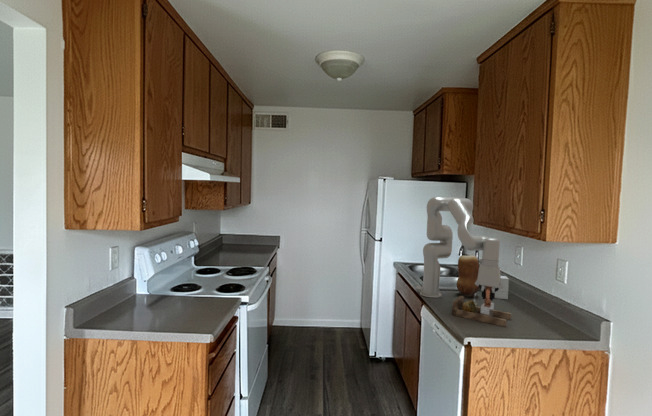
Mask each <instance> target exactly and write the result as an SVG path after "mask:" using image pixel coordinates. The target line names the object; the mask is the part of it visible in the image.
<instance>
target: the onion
mask: <svg viewBox="0 0 652 416" xmlns="http://www.w3.org/2000/svg"><path fill="white" fill-rule="evenodd" d="M475 306H477V307H479V303H477V302H476V301H475V300H472V299H470V300H467V301H464V302H463V304H462V306H461V307H462V310H463V311H468V312H473V313H476V311H477V307H475Z"/></svg>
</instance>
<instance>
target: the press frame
mask: <svg viewBox="0 0 652 416" xmlns="http://www.w3.org/2000/svg"><path fill="white" fill-rule="evenodd" d="M463 302H465V296H464V295H460V296H458V297H456V298H455V299H454V300H452V306H451V307H452V311H451V315H452V316H455V317H460V318H463V319H464V318H465V319H468V318H469V319H468V320H472V321H478V322H481V323H488V324H490V325H491V324H492V325H494V326H495V325H496V326H500V327H505V328H506V327H507V321H508V320H509V321H512V313H511V312H507V311H501V310H496V309H494V312H493V316H487V315H482V314H480V313H481V306H475V307H477V311H476V313H473V312H468V311H463V310H462V307H461V306H462V304H463Z"/></svg>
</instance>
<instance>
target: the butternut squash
mask: <svg viewBox="0 0 652 416" xmlns="http://www.w3.org/2000/svg"><path fill="white" fill-rule="evenodd" d="M479 267H480V262H479V259H478V257H477V256H476V255H471V254H469V255H461V256H459V257H458V260H457V269H458V270H457V271H458V277H457V280H456V289H457V290H458V292H459V293H460V294H461V296H464V297H469V298H471V297H473V296H474V295H476V293H478V291H479V290H480V288H479V287H478V286H477V285H475V282H476V281H477V279H478V272H479Z"/></svg>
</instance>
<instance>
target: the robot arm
mask: <svg viewBox="0 0 652 416" xmlns="http://www.w3.org/2000/svg"><path fill="white" fill-rule="evenodd" d="M426 203H427V204H426V216H427V217H426V219H427V220H426V222H427V223H426V238H427V240H429V241H432V242H428V243H426V244H425V245H424V246H423V248H422V254H423V277H422V278H423V279H422V286H419V285H416V286H415V287H416V290H418V291H419V295H420V296H422V297H426V298H429V299H431V298H432V299H437V298H441V297H442V293H441V292H440V278H441V264H440V262H439V260H441V259H449V258H450V257H451V255H452V251H453V230H452V228H451V227H450V226H449V225H447V224H443V217H442V213H441V212H450V214H451V216H452V217H453V218H454V220H455V221H456V222H455V223H456V224H457V238H458V240H459V242H460V243H461V244H462V246H463V247H464V248H465V250H467V251H482V255H481V258H480V259H478V261H479V272H478V279H477V281H476V282H475V285H477V286H478V287H479V290H480V291H481V298H482V300H485V286H490V287H492V292H491V302H492V301H493V300H494V299H496V298H495V292H496V291H498V290H500V289H503V286H502V284H501V276H502V274H501V267H500V265H499V261H500V247H501V245H500V243H501V242H500V240H499V238H496V237H490V236H487V235H471V233H470V232H469V230H468V227H469V226H470V225H471V224H472V223H473V222H474V216H473V215H472V214H471V212H472V211H473V210H474V203H473V201H472V200H471V199H470V198H464V197H455V196H454V197H453V196H433V197H431V198H430V199H429V200H428V201H427V202H426ZM433 241H435V242H433ZM437 241H439V242H437ZM438 259H439V260H438ZM480 263H481V264H480ZM498 286H499V287H498ZM496 287H497V288H496Z"/></svg>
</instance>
